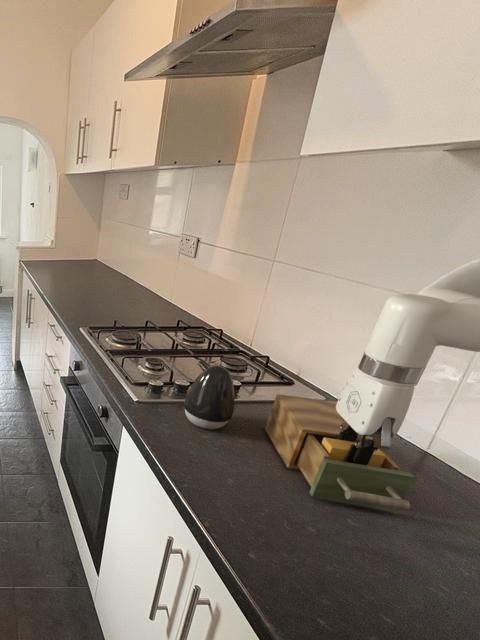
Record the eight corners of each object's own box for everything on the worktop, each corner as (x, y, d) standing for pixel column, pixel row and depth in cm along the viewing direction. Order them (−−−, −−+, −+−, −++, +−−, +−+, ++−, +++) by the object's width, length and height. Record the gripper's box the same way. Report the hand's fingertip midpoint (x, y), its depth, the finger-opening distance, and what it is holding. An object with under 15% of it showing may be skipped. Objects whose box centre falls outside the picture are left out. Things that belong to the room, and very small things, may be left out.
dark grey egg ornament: (201, 408, 106) (216, 354, 100) (238, 430, 97) (256, 372, 91) (170, 415, 103) (183, 360, 97) (205, 439, 94) (221, 379, 88)
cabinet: (368, 482, 81) (388, 441, 77) (287, 468, 85) (302, 428, 81) (334, 440, 93) (349, 403, 90) (264, 429, 97) (276, 393, 93)
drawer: (413, 534, 68) (435, 497, 65) (323, 516, 71) (340, 480, 68) (356, 464, 84) (370, 432, 81) (285, 453, 88) (296, 422, 85)
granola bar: (370, 456, 77) (375, 445, 76) (380, 468, 74) (386, 456, 73) (319, 448, 79) (323, 437, 78) (327, 459, 76) (332, 447, 75)
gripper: (339, 347, 78) (306, 430, 85) (390, 387, 63) (346, 482, 70) (388, 352, 75) (351, 436, 83) (453, 395, 61) (401, 492, 68)
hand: (349, 456), depth 77 cm, fingers closed on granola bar, 3 cm apart
